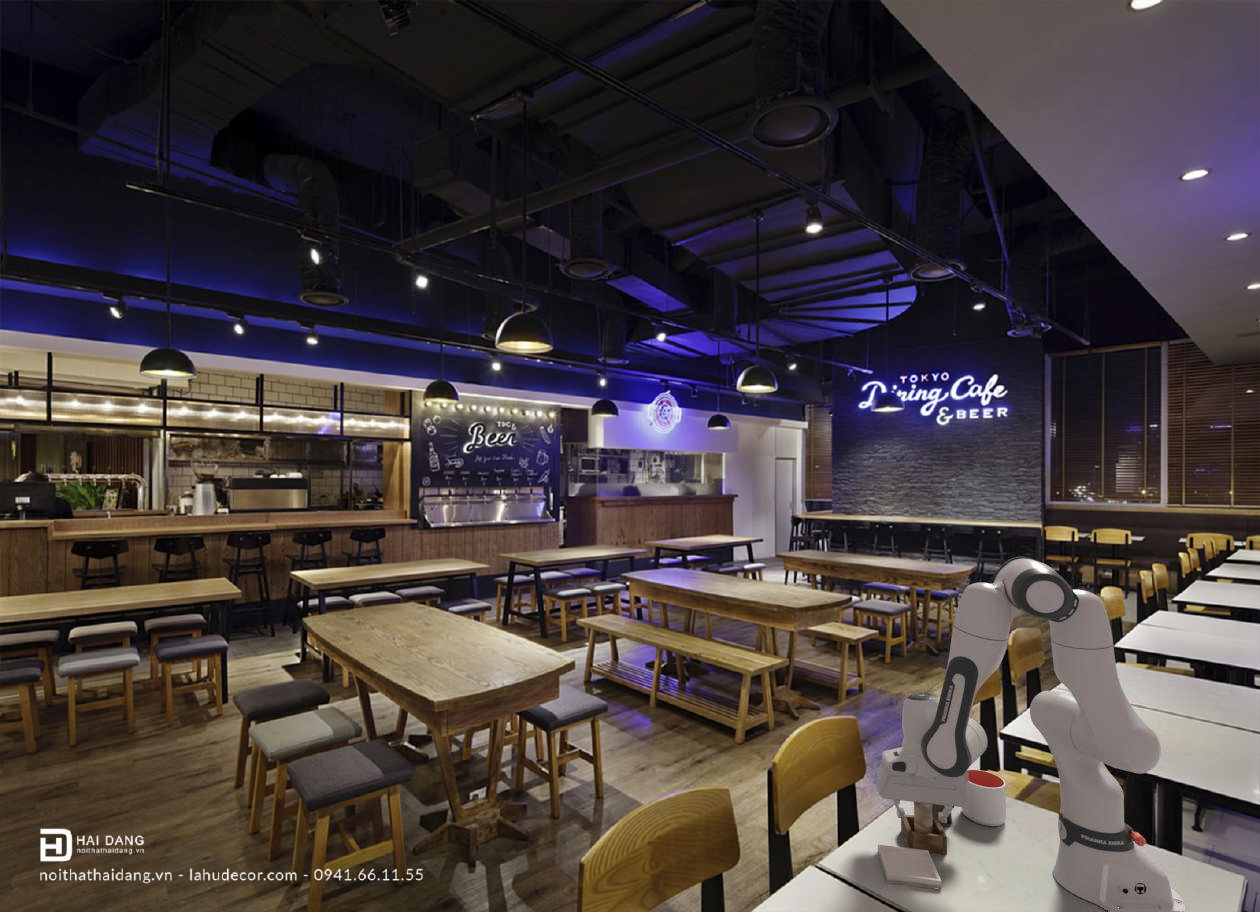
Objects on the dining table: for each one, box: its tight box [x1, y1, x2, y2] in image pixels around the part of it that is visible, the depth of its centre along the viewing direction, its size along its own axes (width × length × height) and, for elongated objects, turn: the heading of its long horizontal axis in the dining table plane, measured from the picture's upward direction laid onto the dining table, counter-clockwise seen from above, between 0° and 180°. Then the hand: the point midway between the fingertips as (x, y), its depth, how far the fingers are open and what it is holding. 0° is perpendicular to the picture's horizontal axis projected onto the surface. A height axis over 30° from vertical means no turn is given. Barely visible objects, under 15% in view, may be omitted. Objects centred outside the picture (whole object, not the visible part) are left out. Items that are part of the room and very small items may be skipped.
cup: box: [961, 769, 1007, 827], centre depth 161 cm, size 10×10×10 cm
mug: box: [932, 804, 955, 828], centre depth 158 cm, size 8×6×12 cm
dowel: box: [913, 802, 932, 834], centre depth 150 cm, size 4×4×10 cm
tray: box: [877, 844, 942, 890], centre depth 140 cm, size 11×11×2 cm
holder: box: [900, 813, 948, 856], centre depth 150 cm, size 8×8×4 cm
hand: (921, 819), depth 150 cm, fingers open, 8 cm apart
